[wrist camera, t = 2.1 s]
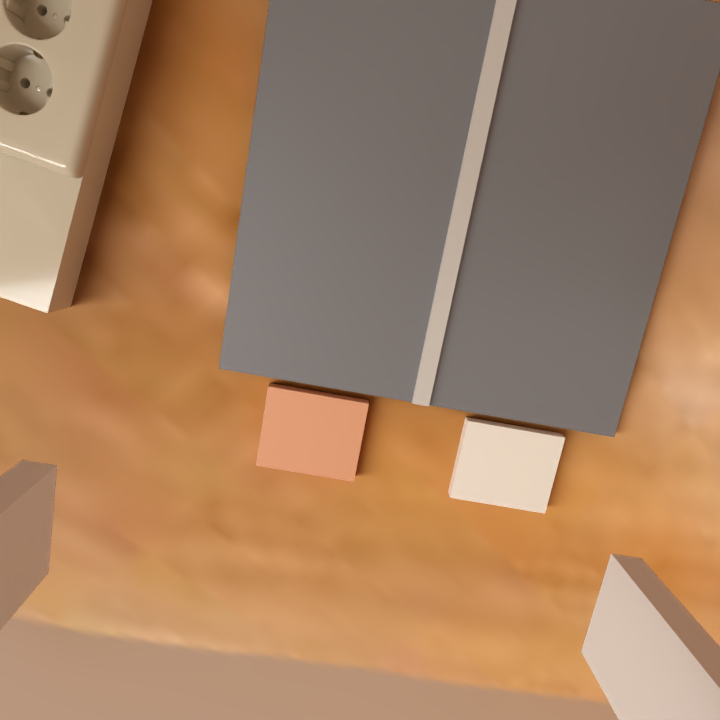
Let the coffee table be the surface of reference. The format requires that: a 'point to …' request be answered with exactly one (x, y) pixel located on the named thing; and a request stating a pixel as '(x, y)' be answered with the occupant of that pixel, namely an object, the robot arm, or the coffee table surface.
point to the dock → (462, 219)
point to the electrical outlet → (58, 134)
